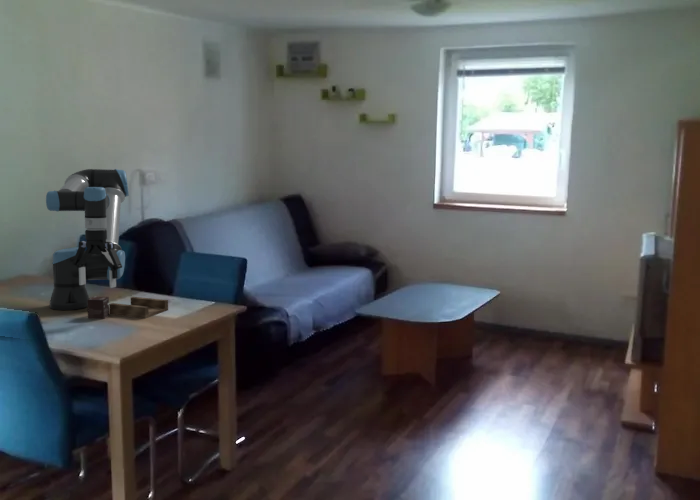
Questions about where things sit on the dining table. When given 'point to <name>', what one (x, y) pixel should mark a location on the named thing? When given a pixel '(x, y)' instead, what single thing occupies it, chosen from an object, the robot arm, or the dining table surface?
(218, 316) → the dining table surface
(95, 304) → the box
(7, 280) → the dining table surface
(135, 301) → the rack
